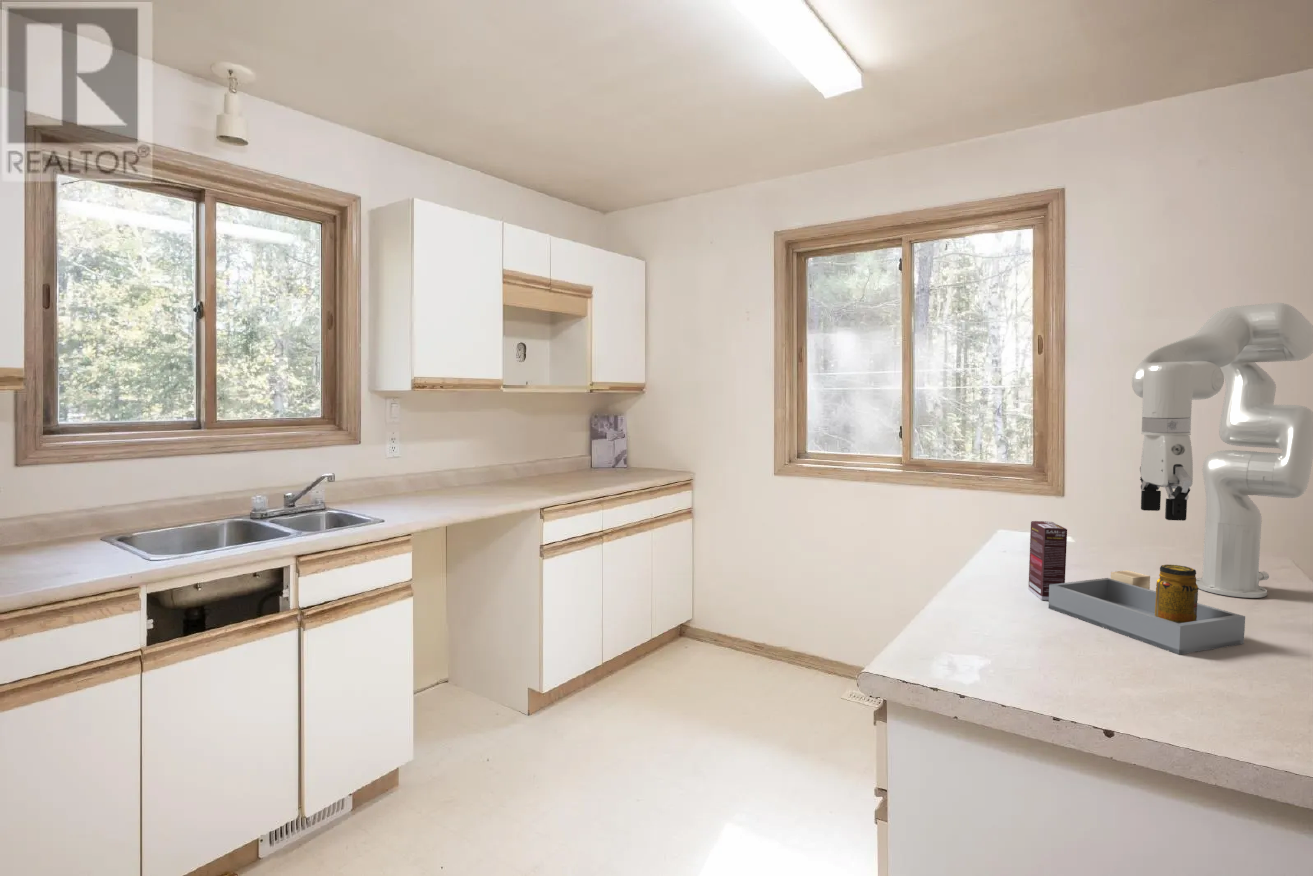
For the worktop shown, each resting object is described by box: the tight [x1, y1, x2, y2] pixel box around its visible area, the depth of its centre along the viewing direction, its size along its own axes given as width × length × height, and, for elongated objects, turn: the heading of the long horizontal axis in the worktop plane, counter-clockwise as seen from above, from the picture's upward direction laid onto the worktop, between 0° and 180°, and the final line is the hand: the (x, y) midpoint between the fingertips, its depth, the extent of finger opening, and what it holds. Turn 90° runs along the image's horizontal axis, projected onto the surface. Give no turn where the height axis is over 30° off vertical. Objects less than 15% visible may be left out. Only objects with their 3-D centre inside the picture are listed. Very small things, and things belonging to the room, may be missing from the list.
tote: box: [1048, 577, 1246, 656], centre depth 128 cm, size 16×26×5 cm, turn 17°
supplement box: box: [1028, 520, 1068, 602], centre depth 147 cm, size 9×5×16 cm, turn 168°
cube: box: [1110, 569, 1151, 590], centre depth 146 cm, size 5×5×5 cm
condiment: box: [1155, 564, 1199, 623], centre depth 121 cm, size 7×8×12 cm
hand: (1162, 515), depth 129 cm, fingers open, 9 cm apart
